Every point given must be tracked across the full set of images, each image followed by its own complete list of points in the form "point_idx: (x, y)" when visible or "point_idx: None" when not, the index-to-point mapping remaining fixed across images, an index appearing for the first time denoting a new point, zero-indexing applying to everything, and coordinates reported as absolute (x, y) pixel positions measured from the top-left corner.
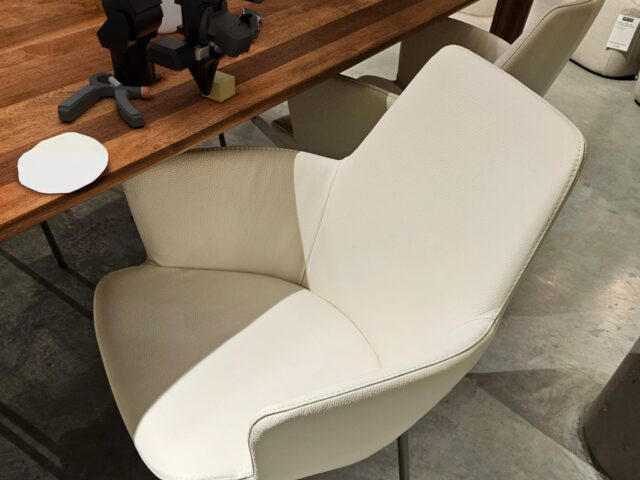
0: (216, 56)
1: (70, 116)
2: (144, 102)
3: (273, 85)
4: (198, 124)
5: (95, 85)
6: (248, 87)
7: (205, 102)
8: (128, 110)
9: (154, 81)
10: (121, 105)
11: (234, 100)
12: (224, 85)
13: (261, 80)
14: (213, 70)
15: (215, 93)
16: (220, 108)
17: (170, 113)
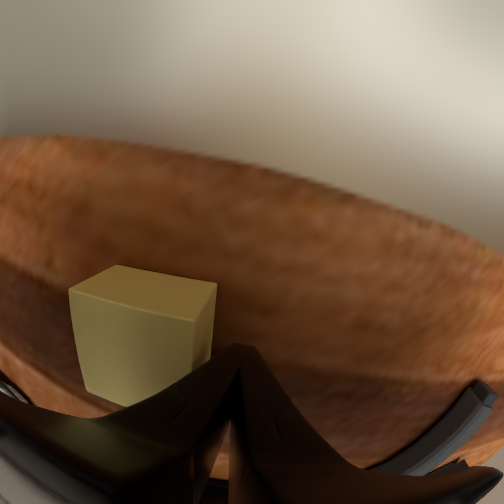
0: (152, 498)
1: (462, 465)
2: (345, 457)
3: (15, 180)
4: (438, 263)
5: None
6: (53, 246)
7: (254, 338)
8: (476, 428)
9: (224, 483)
10: (451, 453)
11: (164, 237)
12: (159, 303)
13: (10, 234)
14: (192, 409)
15: (208, 324)
16: (273, 255)
17: (392, 384)
